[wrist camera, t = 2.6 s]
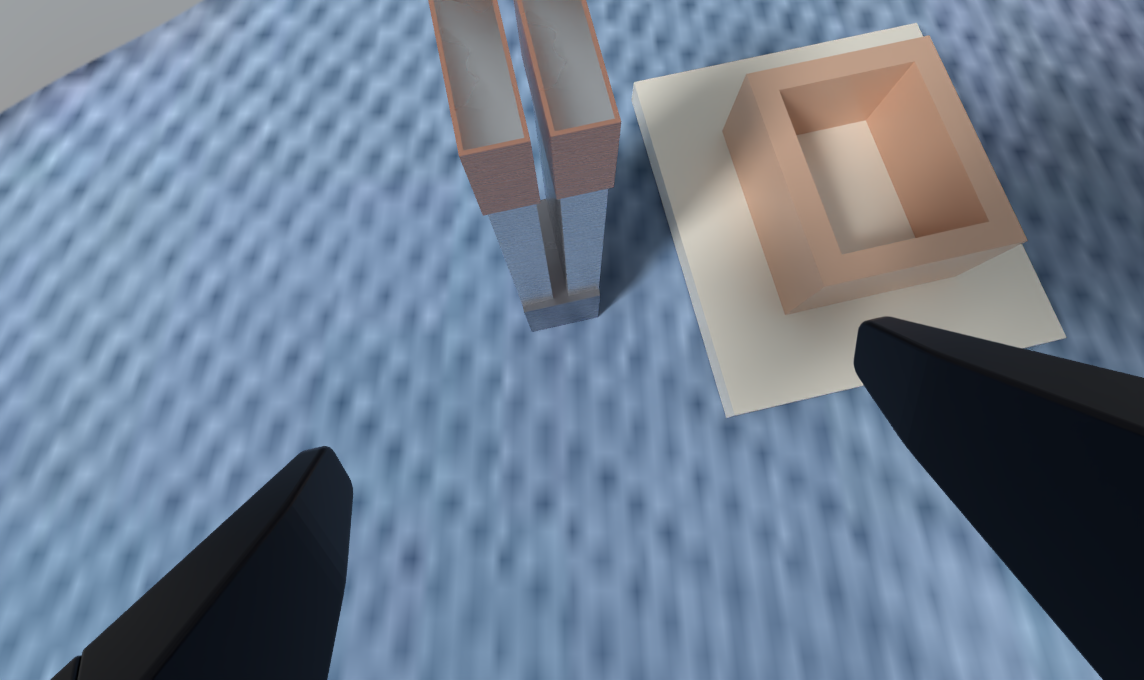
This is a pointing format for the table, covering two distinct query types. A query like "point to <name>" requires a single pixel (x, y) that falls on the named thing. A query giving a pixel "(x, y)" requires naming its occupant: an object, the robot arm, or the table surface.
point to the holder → (832, 211)
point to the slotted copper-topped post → (565, 137)
